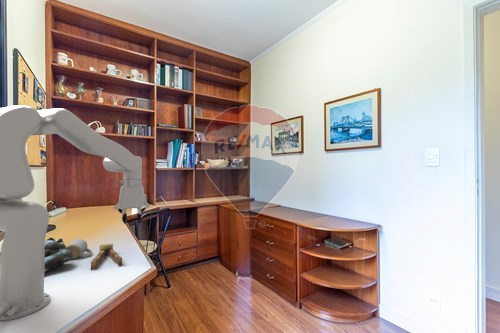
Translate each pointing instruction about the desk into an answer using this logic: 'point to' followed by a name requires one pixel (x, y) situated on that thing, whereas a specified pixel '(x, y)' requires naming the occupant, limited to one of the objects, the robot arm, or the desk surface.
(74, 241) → the ceramic mug
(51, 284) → the desk surface
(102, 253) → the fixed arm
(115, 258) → the bar
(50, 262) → the lucky cat figurine
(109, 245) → the collar
